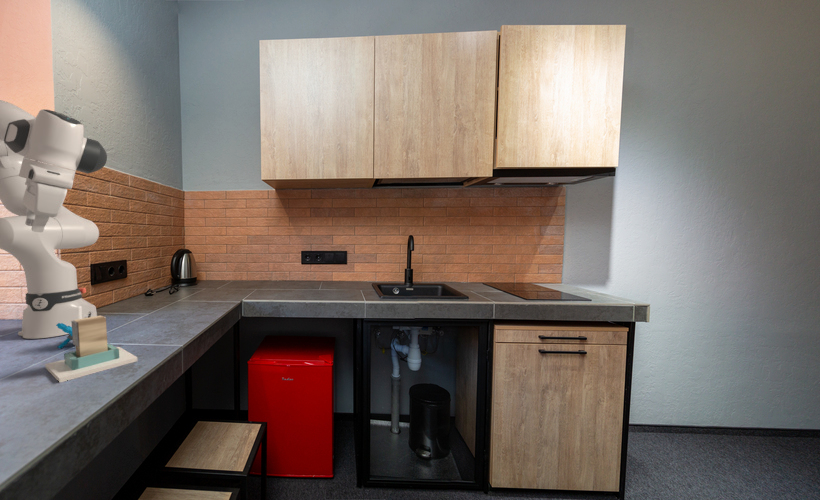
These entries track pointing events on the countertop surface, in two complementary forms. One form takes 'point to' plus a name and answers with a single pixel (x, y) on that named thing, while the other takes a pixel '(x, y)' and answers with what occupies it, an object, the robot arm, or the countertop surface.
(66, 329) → the blue crossed bar frame
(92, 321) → the block
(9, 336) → the countertop surface
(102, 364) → the socket base
